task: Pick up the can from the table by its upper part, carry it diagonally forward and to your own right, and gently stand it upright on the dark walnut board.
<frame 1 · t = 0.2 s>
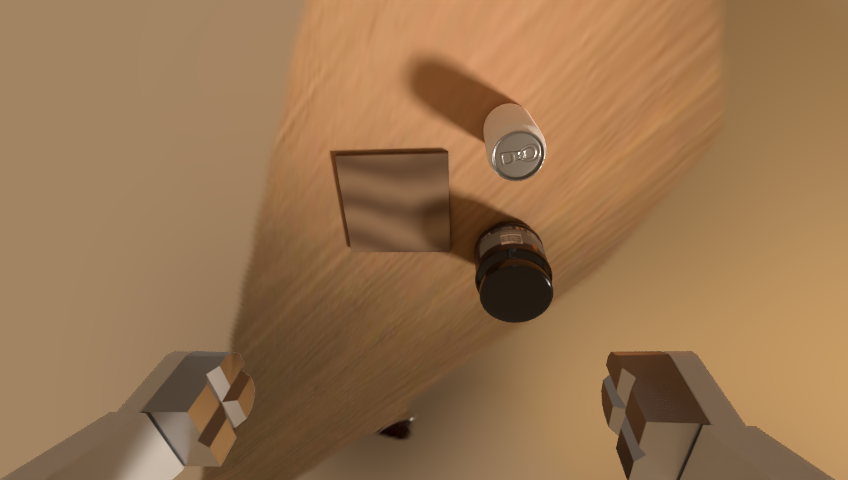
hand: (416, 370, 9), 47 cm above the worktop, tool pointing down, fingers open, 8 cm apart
walnut board: (396, 204, 59), on the worktop
supplement container: (507, 247, 62), on the worktop
can: (507, 127, 52), on the worktop
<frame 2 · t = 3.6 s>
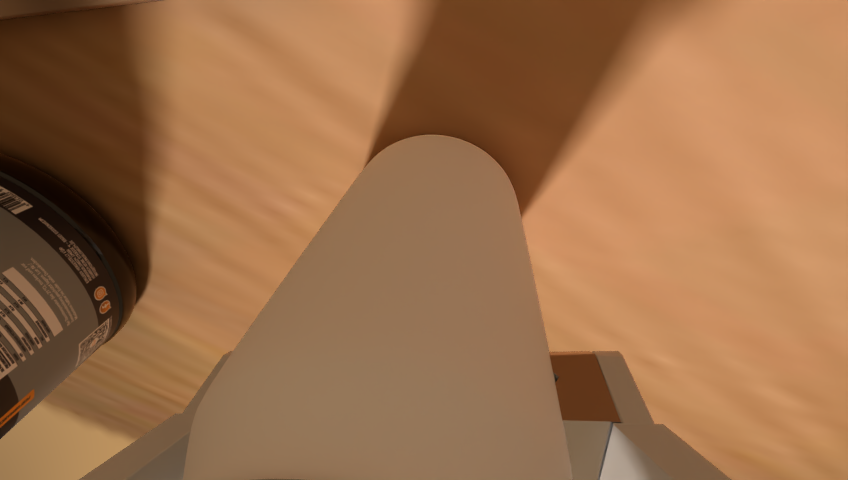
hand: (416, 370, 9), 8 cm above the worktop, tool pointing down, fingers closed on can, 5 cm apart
supplement container: (41, 245, 19), on the worktop
can: (435, 209, 16), on the worktop, touching gripper
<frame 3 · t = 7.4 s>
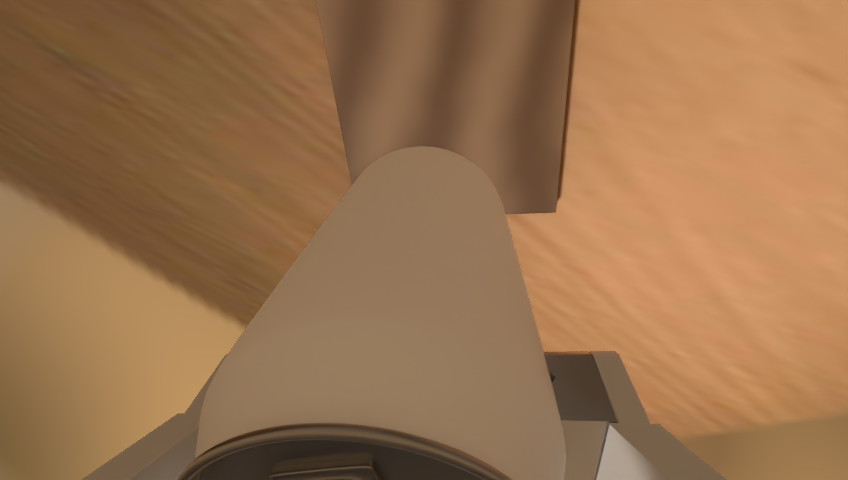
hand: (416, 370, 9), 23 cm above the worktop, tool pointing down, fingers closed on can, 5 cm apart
walnut board: (449, 112, 28), on the worktop
can: (425, 218, 16), point 15 cm above the worktop, touching gripper
when the fingers open (10 cm above the worktop, at t = 11.1 s): can stays where it is, resting on walnut board.
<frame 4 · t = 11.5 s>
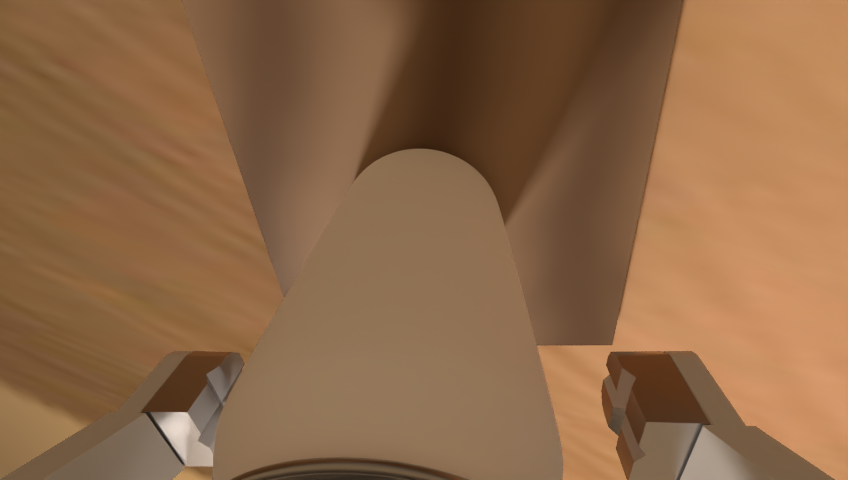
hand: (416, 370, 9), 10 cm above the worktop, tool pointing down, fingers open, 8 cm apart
walnut board: (438, 194, 17), on the worktop
can: (422, 218, 16), point 1 cm above the worktop, touching walnut board
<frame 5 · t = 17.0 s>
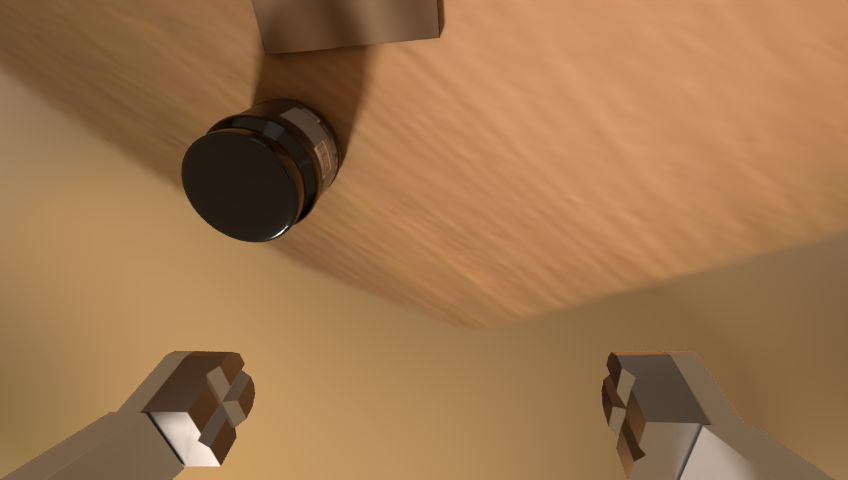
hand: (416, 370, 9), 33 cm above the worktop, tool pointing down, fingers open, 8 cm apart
supplement container: (296, 146, 41), on the worktop
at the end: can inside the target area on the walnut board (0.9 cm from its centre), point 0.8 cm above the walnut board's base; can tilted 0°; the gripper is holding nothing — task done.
